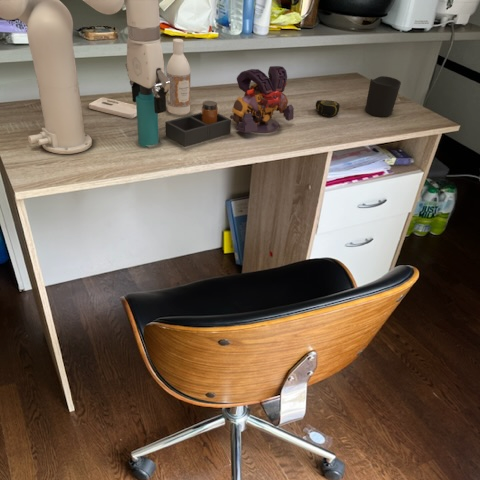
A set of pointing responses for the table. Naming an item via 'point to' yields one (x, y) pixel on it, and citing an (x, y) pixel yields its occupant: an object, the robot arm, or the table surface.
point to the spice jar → (209, 112)
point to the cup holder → (196, 129)
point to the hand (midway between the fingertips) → (149, 106)
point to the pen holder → (382, 96)
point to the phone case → (114, 107)
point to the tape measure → (327, 107)
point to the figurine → (261, 100)
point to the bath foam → (178, 80)
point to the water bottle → (146, 118)
